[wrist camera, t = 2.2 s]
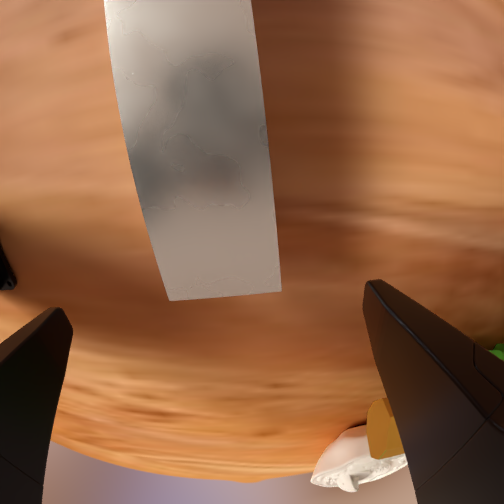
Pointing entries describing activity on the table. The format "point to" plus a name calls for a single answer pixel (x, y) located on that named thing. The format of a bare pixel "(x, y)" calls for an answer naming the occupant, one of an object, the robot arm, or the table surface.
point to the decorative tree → (392, 424)
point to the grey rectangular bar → (197, 142)
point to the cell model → (352, 462)
